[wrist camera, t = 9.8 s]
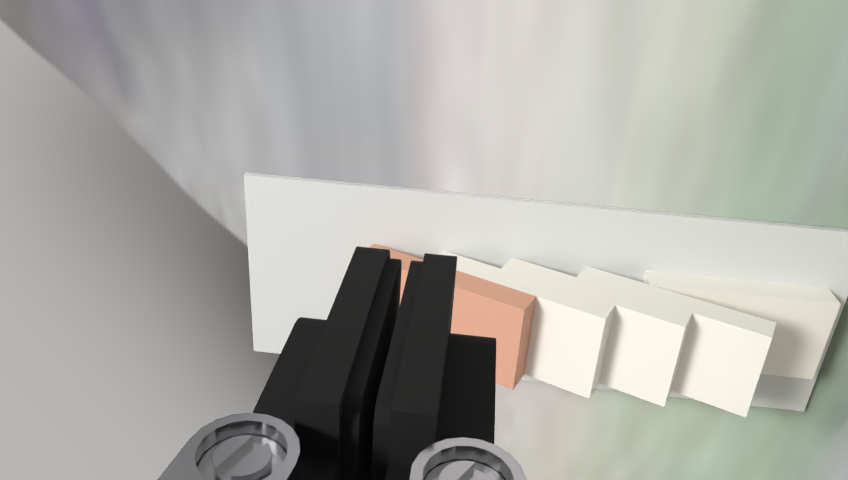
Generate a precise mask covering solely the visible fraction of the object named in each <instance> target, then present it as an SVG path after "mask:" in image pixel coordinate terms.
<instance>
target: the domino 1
mask: <svg viewBox="0 0 848 480" xmlns="http://www.w3.org/2000/svg"><path fill="white" fill-rule="evenodd" d="M369 248H379V249H389V248H386V247H383V246H380V245H377V244H373V245H371V246H370V247H369ZM389 250H390V258H393V259H401V261H402V270H401V289H400V303H401V299H402V295H403V291H404V287H405V283H406V279H407V275H408V270H409V266H410V262H411V260H413V261H423V259H420V258H417V257H414V256H411V255H408V254H405V253H402V252H399V251H396V250H392V249H389ZM535 302H536V296H534V295H531V294H528V293H525V292H522V291H518V290H515V289H512V288H509V287H506V286H503V285H500V284H497V283H494V282H491V281H488V280H485V279H482V278H479V277H475V276H472V275H469V274H466V273H463V272H460V271H457V270H456V278H455V289H454V300H453V311H452V322H451V333H454V334H463V335H472V336H482V337H491V338H496V382H495V383H497V384H500V385H502V386H505V387H508V388H510V389H514V387H515V386H516V385H517V383H518V382H519V381H520V379H521V378H522V377H523V375H524V374H525V368H526V361H527V354H528V348H529V341H530V335H531V328H532V321H533V315H534V308H535Z"/></svg>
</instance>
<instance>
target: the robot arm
mask: <svg viewBox="0 0 848 480" xmlns="http://www.w3.org/2000/svg"><path fill="white" fill-rule="evenodd" d="M456 267H457V256H448V255H438V254H428V253H425V254H424V259H423V261H413V260H411V262H410V266H409V270H408V275H407V279H406V283H405V287H404V291H403V295H402V299H401V303H400V289H401V270H402V261H401V259H393V258H390V250H389V249H379V248H369V247H359V246H357V247H356V249H355V251H354V253H353V256H352V258H351V261H350V263H349V266H348V268H347V271H346V273H345V276H344V278H343V280H342V283H341V285H340V288H339V290H338V293H337V295H336V298H335V300H334V303H333V305H332V308H331V310H330V313H329V315H328V318H327V320H323V319H314V318H304V317H300V318H298V319H297V321H296V322H295V324H294V326H293V328H292V330H291V333H290V335H289V337H288V339H287V341H286V343H285V345H284V347H283V349H282V352H281V354H280V356H279V358H278V360H277V362H276V364H275V366H274V368H273V371H272V373H271V375H270V377H269V379H268V381H267V383H266V385H265V388H264V390H263V392H262V394H261V396H260V398H259V400H258V402H257V405H256V407H255V409H254V411H253V413H243V414H233V415H230V416H227V417H223V418H220V419H217V420H215V421H213V422H211V423H209V424H208V425H206V426H204V427H202V428H201V429H200V430H199V431H198V432H197V433H196V434H194V435H193V436H192V437H191V438H190V439H189V441H188V442H187V443H186V444H185V446H184V447H183V448H182V449H181V451H180V452H179V453H178V454H177V456H176V457H175V458H174V459H173V461H172V462H171V463H170V464H169V466H168V467H167V468H166V470H165V471H164V472H163V473H162V475H161V476H160V477H159V478H158V480H527V479H526V477H525V474H524V472H523V470H522V468H521V465H520V464H519V463H518V462H517V461H516V460H515V459H514V458H513V457H512V455H511V454H509V453H508V452H506V451H505V450H503V449H502V448H500V447H498V446H497V445H494V425H495V382H496V338H491V337H482V336H472V335H463V334H454V333H451V322H452V311H453V300H454V289H455V278H456Z"/></svg>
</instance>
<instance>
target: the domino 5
mask: <svg viewBox="0 0 848 480" xmlns="http://www.w3.org/2000/svg"><path fill="white" fill-rule="evenodd" d="M643 283H646V284H649V285H653V286H656V287H659V288H663V289H666V290H669V291H673V292H676V293H679V294H683V295H686V296H689V297H693V298H696V299H699V300H703V301H706V302H709V303H713V304H716V305H719V306H723V307H726V308H729V309H733V310H736V311H739V312H743V313H746V314H749V315H753V316H756V317H759V318H763V319H766V320H769V321H773V322H776V326H775V330H774V334H773V337H772V340H771V343H770V346H769V349H768V352H767V355H766V358H765V361H764V364H763V367H762V370H761V373H760V374H767V375H776V376H785V377H795V378H804V379H813V377H814V374H815V372H816V369H817V366H818V364H819V361H820V358H821V356H822V353H823V350H824V348H825V345H826V342H827V340H828V337H829V335H830V332H831V329H832V327H833V324H834V321H835V319H836V316H837V313H838V311H839V308H840V305H841V304H840V302H839V301H838V300H837V299H836V297H835V296H834V295H833V293H832V292H831V291H830V290H829V289H824V288H814V287H804V286H794V285H784V284H774V283H764V282H754V281H744V280H734V279H724V278H714V277H704V276H694V275H684V274H674V273H664V272H654V271H646V272H645V277H644V281H643Z"/></svg>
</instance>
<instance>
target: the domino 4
mask: <svg viewBox="0 0 848 480" xmlns="http://www.w3.org/2000/svg"><path fill="white" fill-rule="evenodd" d="M578 278H581V279H584V280H587V281H591V282H594V283H597V284H600V285H604V286H607V287H610V288H613V289H617V290H620V291H623V292H626V293H630V294H633V295H636V296H639V297H642V298H646V299H649V300H652V301H655V302H659V303H662V304H665V305H668V306H672V307H675V308H678V309H681V310H685V311H688V312H691V313H692V316H691V320H690V323H689V327H688V331H687V334H686V338H685V342H684V346H683V349H682V353H681V357H680V361H679V364H678V368H677V372H676V375H675V379H674V383H673V387H672V390H671V391H673V392H676V393H679V394H682V395H684V396H687V397H690V398H693V399H696V400H698V401H701V402H704V403H707V404H710V405H712V406H715V407H718V408H721V409H724V410H726V411H729V412H732V413H735V414H738V415H740V416H743V417H746V415H747V412H748V409H749V406H750V403H751V400H752V397H753V394H754V391H755V388H756V385H757V382H758V379H759V376H760V373H761V370H762V367H763V364H764V361H765V358H766V355H767V352H768V349H769V346H770V343H771V340H772V337H773V334H774V330H775V326H776V322H773V321H769V320H766V319H763V318H759V317H756V316H753V315H749V314H746V313H743V312H739V311H736V310H733V309H729V308H726V307H723V306H719V305H716V304H713V303H709V302H706V301H703V300H699V299H696V298H693V297H689V296H686V295H683V294H679V293H676V292H673V291H669V290H666V289H663V288H659V287H656V286H653V285H649V284H646V283H643V282H639V281H636V280H633V279H629V278H626V277H623V276H619V275H616V274H613V273H609V272H606V271H603V270H599V269H596V268H593V267H589V266H586V267H585V268H584V269H583V271H582V272H581V273H580V274H579V275H578Z"/></svg>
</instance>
